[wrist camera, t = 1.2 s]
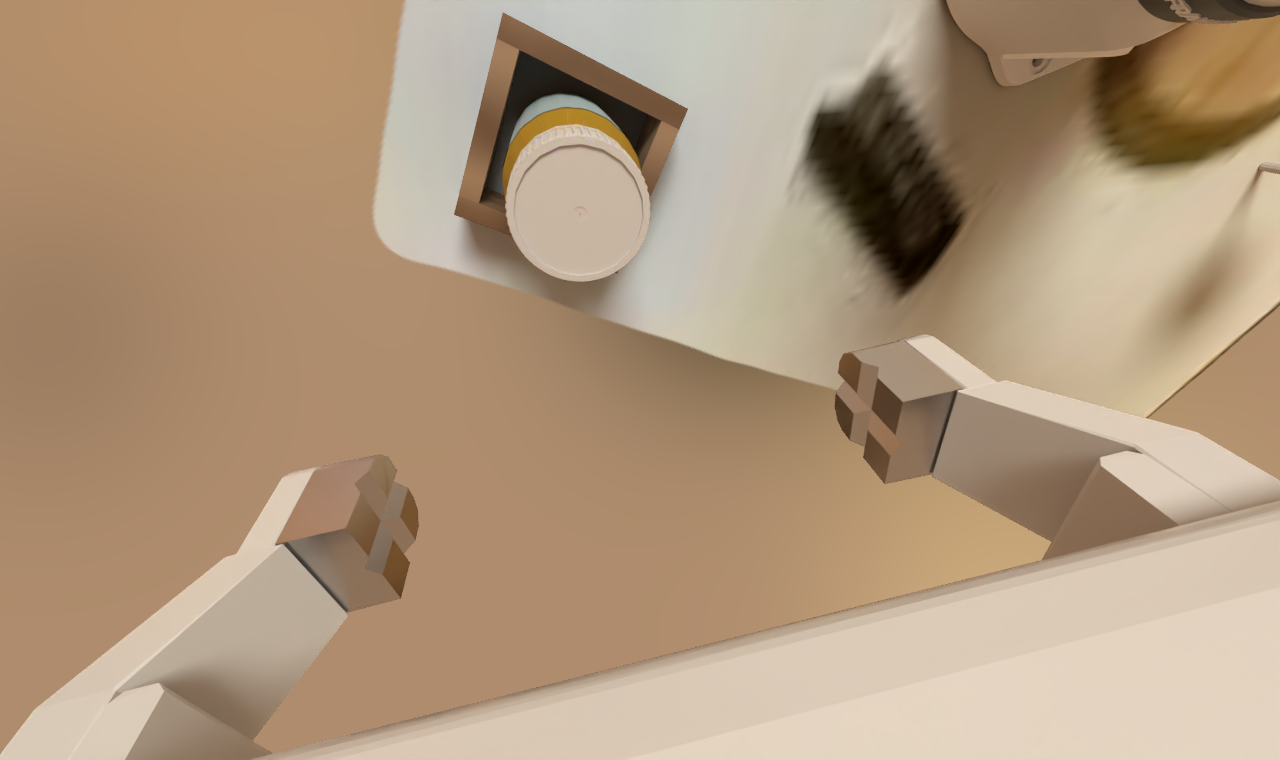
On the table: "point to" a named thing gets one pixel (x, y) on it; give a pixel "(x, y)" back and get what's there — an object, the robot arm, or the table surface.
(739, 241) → the table surface
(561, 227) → the bottle
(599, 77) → the pocket
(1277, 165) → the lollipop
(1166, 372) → the table surface
